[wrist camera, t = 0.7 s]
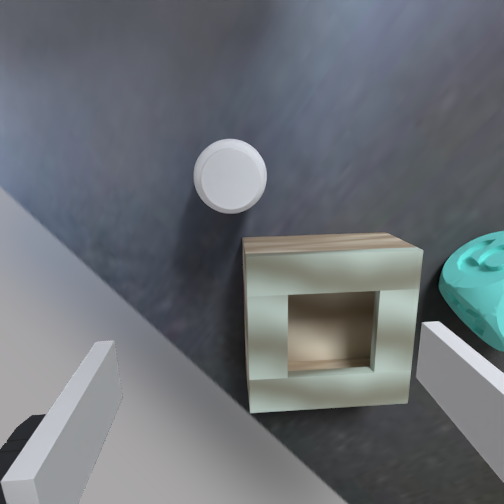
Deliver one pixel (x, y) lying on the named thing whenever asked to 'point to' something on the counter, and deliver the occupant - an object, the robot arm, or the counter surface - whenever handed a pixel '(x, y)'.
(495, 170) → the counter surface
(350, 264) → the grey hollow square block
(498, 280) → the engraved teal number block
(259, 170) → the pill bottle
